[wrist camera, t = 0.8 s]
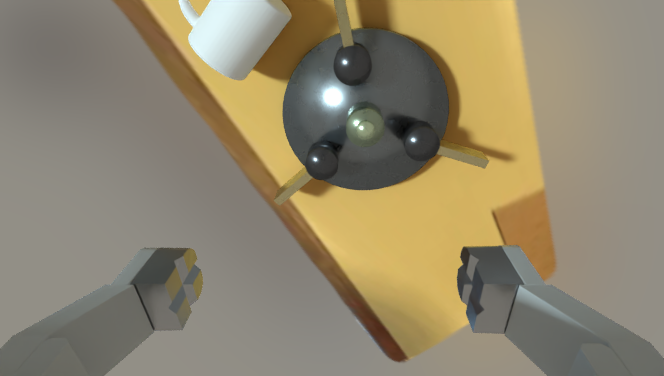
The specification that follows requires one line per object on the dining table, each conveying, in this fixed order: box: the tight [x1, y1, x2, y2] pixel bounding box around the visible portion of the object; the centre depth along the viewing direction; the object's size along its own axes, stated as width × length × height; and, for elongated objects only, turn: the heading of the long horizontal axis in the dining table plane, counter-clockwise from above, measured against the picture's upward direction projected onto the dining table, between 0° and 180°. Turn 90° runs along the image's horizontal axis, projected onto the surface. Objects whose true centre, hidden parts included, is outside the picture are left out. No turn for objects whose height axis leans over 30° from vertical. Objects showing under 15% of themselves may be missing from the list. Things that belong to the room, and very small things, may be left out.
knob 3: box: [402, 121, 489, 168], centre depth 48 cm, size 12×5×3 cm, turn 74°
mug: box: [179, 0, 292, 80], centre depth 41 cm, size 12×10×8 cm
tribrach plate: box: [283, 28, 449, 190], centre depth 47 cm, size 23×23×7 cm
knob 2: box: [333, 0, 372, 86], centre depth 41 cm, size 12×5×3 cm, turn 14°
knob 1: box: [274, 141, 339, 205], centre depth 51 cm, size 12×5×3 cm, turn 134°
